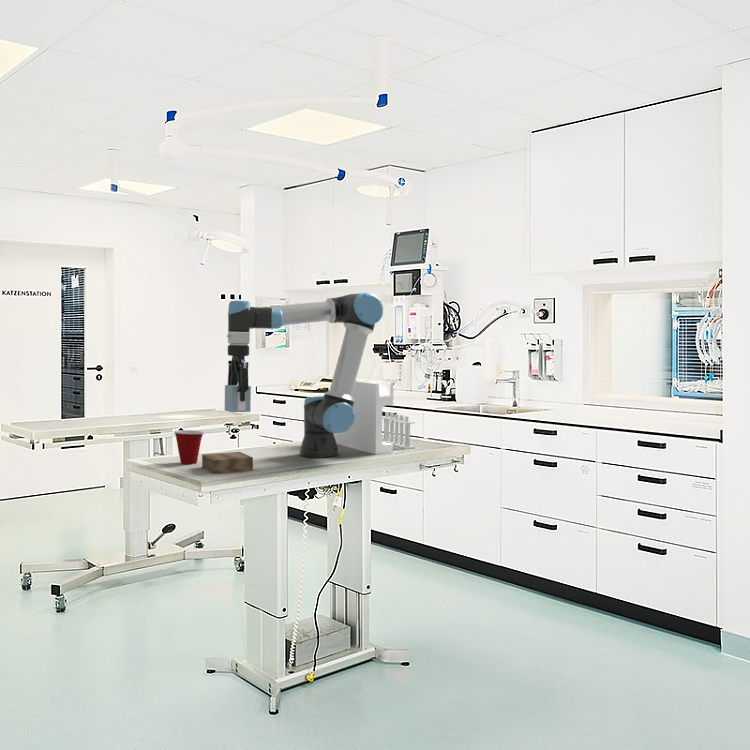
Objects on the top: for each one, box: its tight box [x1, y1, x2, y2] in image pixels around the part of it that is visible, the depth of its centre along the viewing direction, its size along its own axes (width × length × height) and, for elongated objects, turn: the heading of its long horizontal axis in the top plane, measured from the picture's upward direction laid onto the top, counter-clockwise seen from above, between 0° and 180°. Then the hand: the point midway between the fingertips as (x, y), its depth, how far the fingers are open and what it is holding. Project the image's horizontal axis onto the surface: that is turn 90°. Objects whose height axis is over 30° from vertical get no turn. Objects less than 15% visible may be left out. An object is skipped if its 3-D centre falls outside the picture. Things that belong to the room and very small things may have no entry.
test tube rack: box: [382, 411, 416, 450], centre depth 344 cm, size 25×4×13 cm, turn 26°
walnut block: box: [201, 451, 254, 475], centre depth 284 cm, size 14×14×5 cm
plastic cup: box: [173, 429, 205, 465], centre depth 295 cm, size 11×11×12 cm
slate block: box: [224, 384, 252, 413], centre depth 285 cm, size 7×7×9 cm
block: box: [334, 378, 395, 456], centre depth 334 cm, size 35×8×28 cm, turn 31°
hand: (237, 409), depth 285 cm, fingers closed on slate block, 7 cm apart
